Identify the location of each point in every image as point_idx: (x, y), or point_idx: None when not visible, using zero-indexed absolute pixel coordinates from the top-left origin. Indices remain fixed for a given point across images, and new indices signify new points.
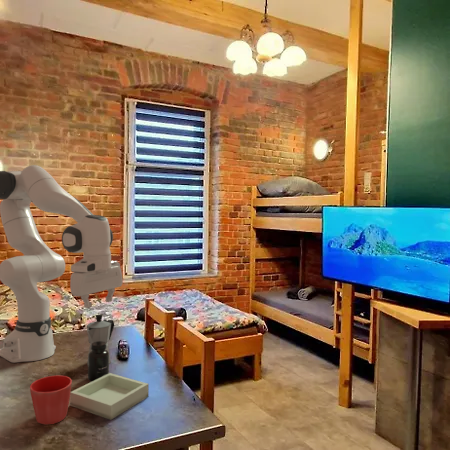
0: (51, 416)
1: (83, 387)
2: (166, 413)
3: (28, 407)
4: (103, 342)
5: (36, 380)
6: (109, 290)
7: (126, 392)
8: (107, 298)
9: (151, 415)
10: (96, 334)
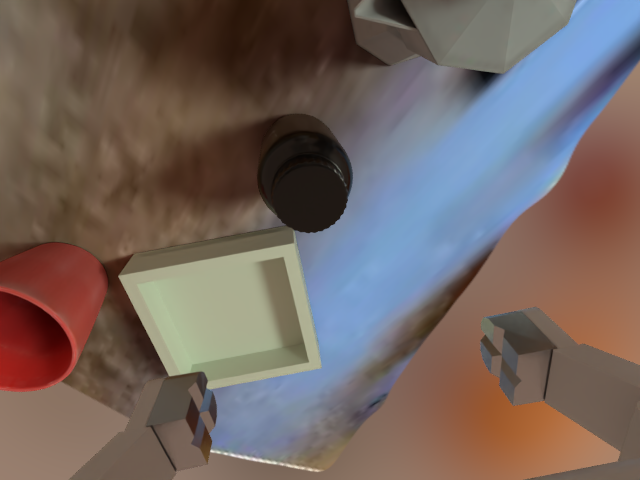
0: (44, 320)
1: (167, 276)
2: (291, 409)
3: (14, 175)
4: (335, 204)
5: None
6: (633, 451)
7: (283, 312)
8: (508, 363)
9: (264, 398)
10: (410, 33)
